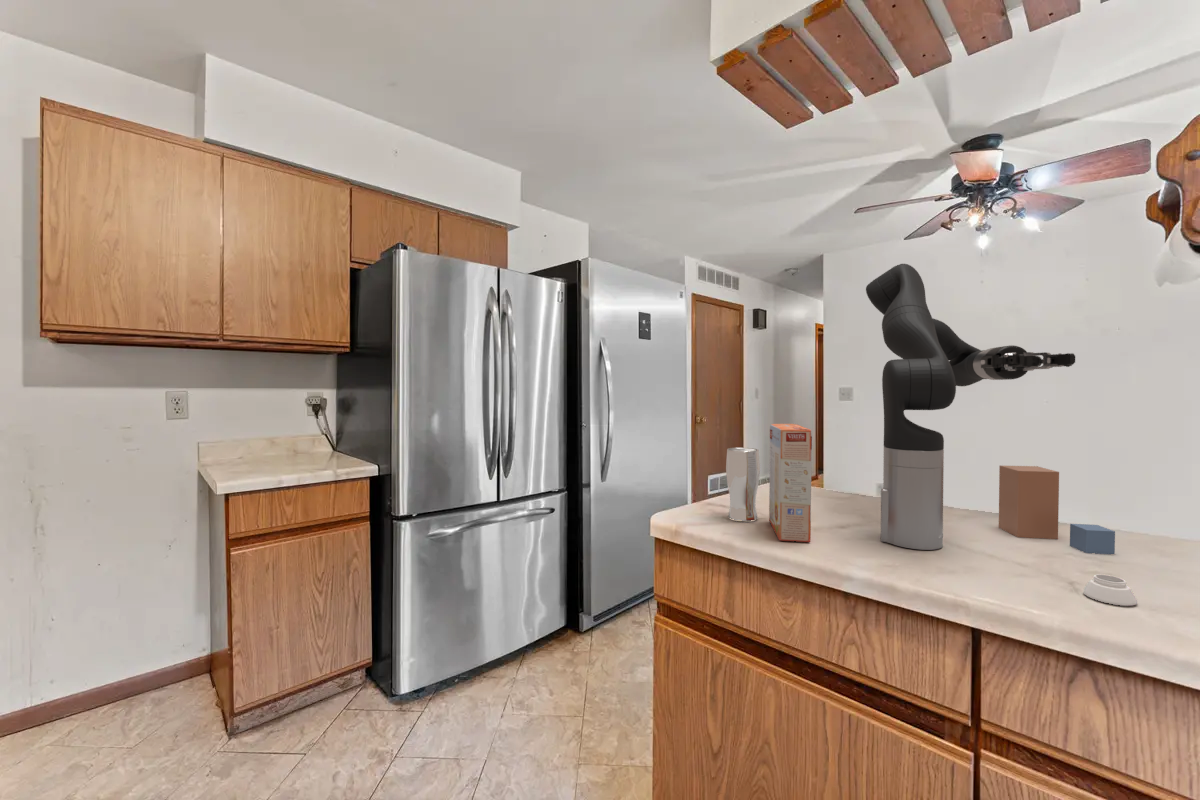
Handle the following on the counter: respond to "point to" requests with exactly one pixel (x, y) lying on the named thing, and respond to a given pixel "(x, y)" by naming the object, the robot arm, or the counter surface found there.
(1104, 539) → the blue rectangular block
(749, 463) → the beer glass
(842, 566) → the counter surface
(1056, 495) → the brown rectangular block
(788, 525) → the cracker box
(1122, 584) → the lidless jar
